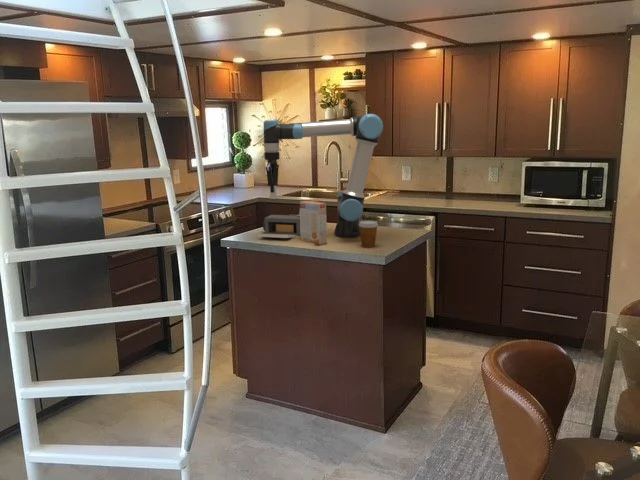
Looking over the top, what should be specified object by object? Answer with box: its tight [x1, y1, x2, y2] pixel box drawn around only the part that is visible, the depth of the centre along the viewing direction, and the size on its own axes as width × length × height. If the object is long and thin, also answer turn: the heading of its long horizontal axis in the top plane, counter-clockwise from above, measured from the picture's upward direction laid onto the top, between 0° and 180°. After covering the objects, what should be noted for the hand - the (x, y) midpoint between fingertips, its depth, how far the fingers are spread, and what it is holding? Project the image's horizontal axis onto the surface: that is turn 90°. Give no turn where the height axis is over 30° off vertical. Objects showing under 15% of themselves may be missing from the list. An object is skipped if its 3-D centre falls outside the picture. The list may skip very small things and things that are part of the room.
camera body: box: [262, 214, 300, 237], centre depth 316 cm, size 22×10×11 cm, turn 73°
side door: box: [258, 233, 297, 239], centre depth 305 cm, size 16×1×13 cm
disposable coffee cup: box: [359, 220, 379, 248], centre depth 286 cm, size 10×10×12 cm
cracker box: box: [299, 200, 328, 246], centre depth 295 cm, size 14×6×21 cm, turn 43°
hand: (273, 198), depth 296 cm, fingers closed
